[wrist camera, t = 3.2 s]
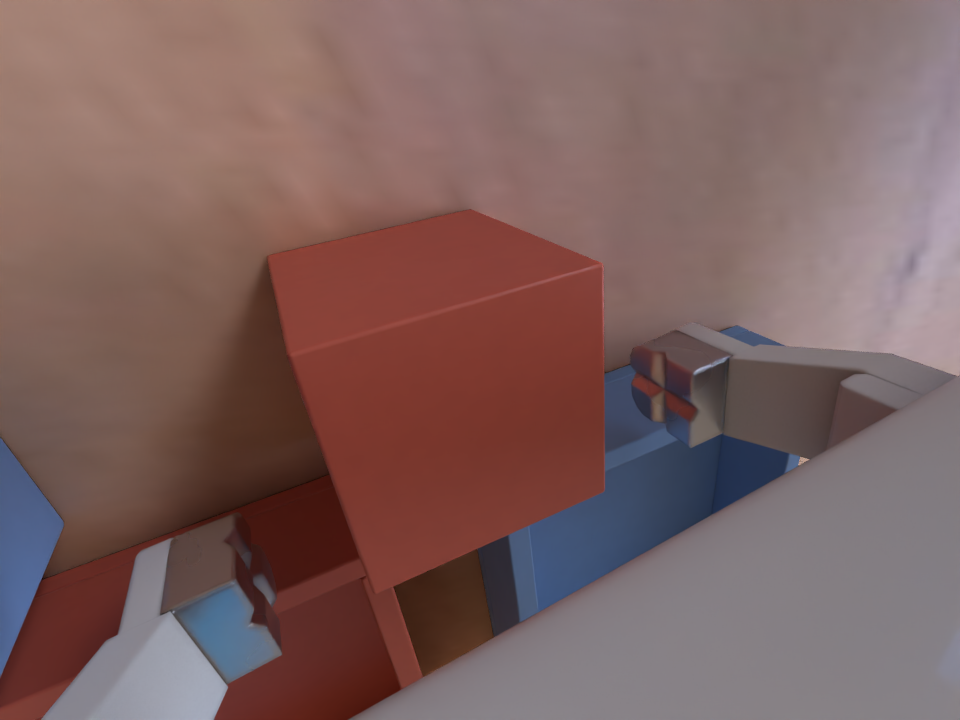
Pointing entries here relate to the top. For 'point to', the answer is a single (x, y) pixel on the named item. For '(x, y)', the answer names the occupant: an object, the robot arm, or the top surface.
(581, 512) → the blue tray
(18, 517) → the blue block
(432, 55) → the top surface
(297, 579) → the red tray
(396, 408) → the red block
